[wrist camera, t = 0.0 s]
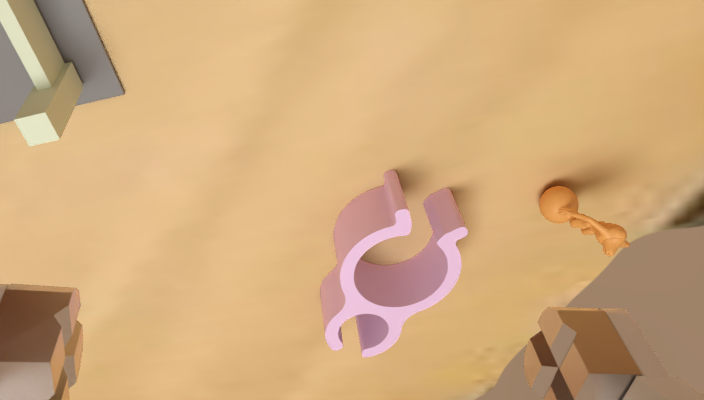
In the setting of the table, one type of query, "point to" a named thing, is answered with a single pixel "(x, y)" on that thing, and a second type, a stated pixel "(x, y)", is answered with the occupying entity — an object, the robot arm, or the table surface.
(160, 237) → the table surface
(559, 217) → the figurine
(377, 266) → the lilac double-ring holder
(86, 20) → the board
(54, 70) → the gate
